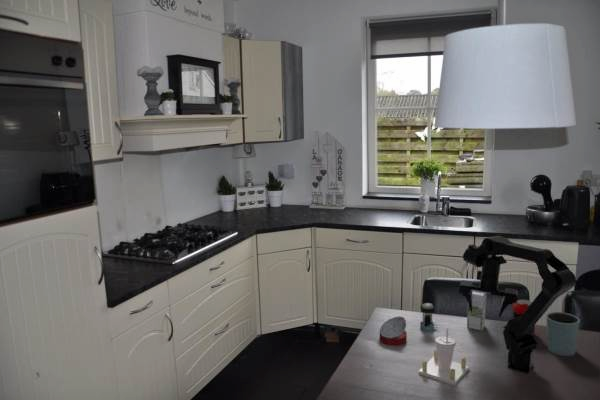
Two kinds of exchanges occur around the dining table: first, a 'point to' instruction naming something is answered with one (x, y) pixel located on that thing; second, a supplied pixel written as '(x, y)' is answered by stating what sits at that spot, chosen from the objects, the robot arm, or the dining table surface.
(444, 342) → the smoothie
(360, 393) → the dining table surface
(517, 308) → the soda can
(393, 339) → the canned food
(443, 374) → the pin plate
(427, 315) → the push button
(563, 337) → the teal cylindrical pot
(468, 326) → the syrup box
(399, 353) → the dining table surface
